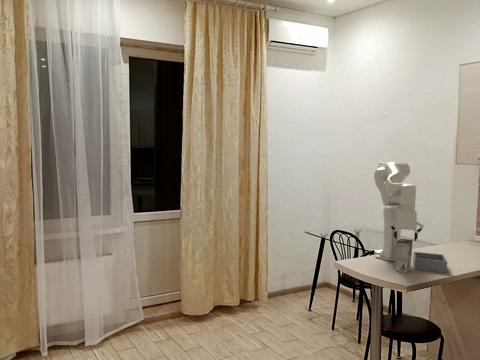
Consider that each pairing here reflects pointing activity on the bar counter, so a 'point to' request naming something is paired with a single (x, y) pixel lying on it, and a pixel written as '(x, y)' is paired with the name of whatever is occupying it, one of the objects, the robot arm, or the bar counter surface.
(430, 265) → the bin
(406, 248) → the coffee box
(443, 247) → the bar counter surface
